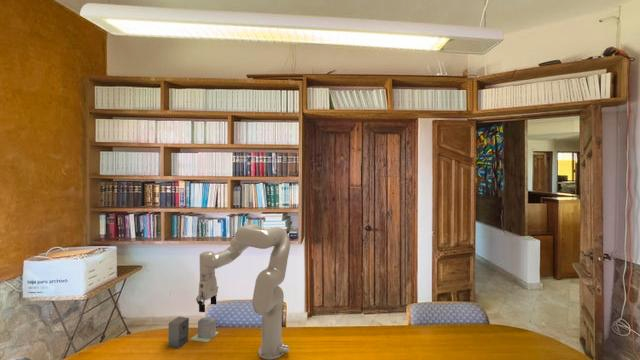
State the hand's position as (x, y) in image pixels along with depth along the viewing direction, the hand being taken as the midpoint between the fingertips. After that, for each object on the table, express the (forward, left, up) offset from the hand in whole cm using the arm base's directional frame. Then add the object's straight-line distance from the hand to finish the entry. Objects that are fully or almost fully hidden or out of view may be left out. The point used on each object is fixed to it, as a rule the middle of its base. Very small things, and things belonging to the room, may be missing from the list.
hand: (207, 307), depth 153 cm
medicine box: (0, 0, -15) cm, 15 cm away
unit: (+10, +10, -15) cm, 21 cm away
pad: (+2, 0, -15) cm, 15 cm away
